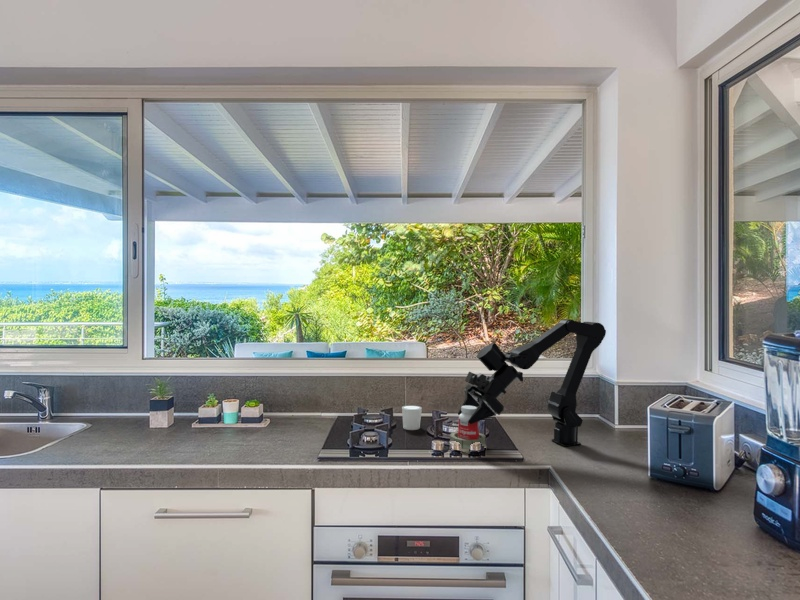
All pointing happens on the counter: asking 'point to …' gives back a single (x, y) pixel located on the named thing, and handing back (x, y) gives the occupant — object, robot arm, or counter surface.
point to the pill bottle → (467, 424)
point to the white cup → (411, 417)
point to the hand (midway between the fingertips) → (463, 418)
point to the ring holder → (467, 441)
